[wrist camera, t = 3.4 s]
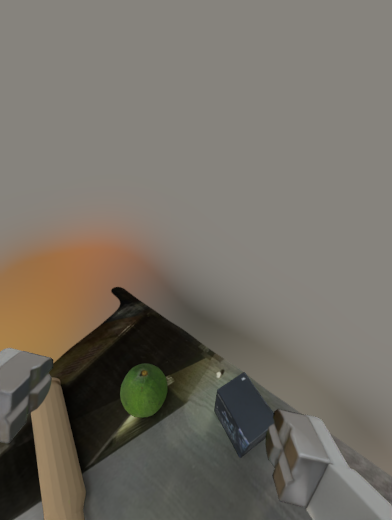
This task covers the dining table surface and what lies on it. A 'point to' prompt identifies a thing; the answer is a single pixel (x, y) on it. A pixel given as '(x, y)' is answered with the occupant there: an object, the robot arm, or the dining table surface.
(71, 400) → the dining table surface
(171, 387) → the dining table surface
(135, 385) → the fruit
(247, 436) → the box
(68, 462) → the ammunition
